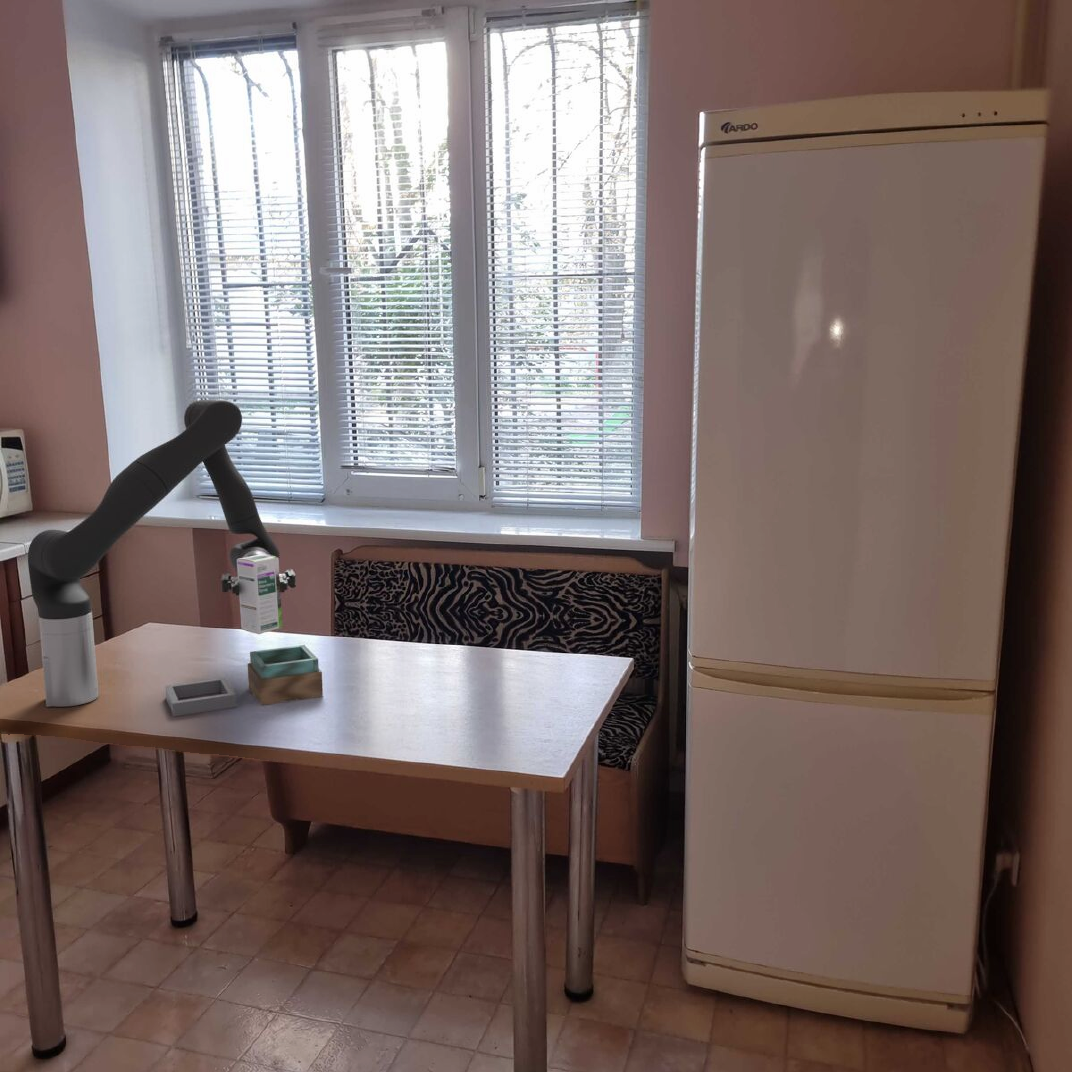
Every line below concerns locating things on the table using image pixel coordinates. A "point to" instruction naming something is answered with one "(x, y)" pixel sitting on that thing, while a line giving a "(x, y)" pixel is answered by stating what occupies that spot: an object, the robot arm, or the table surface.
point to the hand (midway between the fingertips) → (260, 589)
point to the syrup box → (259, 593)
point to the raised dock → (284, 675)
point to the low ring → (203, 703)
